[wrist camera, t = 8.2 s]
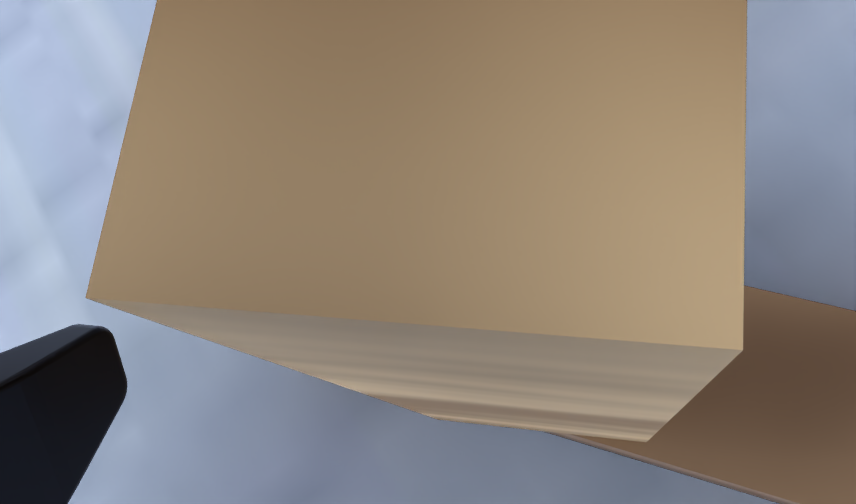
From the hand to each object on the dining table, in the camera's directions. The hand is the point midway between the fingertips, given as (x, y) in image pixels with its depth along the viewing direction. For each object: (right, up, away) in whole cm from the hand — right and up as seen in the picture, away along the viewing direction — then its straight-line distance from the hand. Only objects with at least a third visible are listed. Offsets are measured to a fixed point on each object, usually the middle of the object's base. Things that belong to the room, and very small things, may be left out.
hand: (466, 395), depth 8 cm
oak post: (+2, 0, +8) cm, 9 cm away
